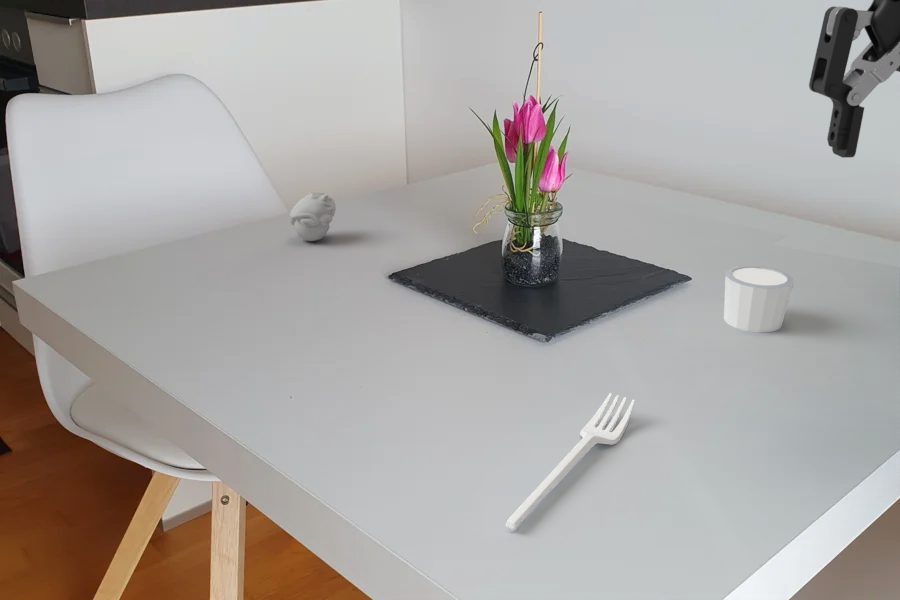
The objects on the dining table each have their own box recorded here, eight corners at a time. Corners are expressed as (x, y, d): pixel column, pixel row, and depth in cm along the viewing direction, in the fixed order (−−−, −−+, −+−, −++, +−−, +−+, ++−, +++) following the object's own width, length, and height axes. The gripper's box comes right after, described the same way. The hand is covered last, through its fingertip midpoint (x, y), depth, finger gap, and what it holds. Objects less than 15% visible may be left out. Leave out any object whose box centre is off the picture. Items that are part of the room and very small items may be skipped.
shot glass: (761, 356, 86) (771, 292, 83) (704, 334, 91) (712, 274, 88) (796, 338, 90) (807, 277, 87) (740, 318, 95) (748, 260, 92)
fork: (489, 524, 61) (490, 503, 60) (604, 409, 76) (605, 390, 75) (529, 540, 59) (530, 518, 58) (638, 419, 74) (639, 401, 74)
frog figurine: (346, 238, 121) (344, 192, 119) (307, 250, 117) (304, 201, 114) (320, 230, 125) (317, 184, 123) (281, 240, 120) (278, 193, 118)
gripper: (1013, -81, 60) (959, 144, 66) (819, -83, 59) (783, 145, 65) (1093, -86, 53) (1024, 166, 59) (874, -88, 52) (828, 167, 59)
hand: (898, 155), depth 62 cm, fingers open, 8 cm apart
